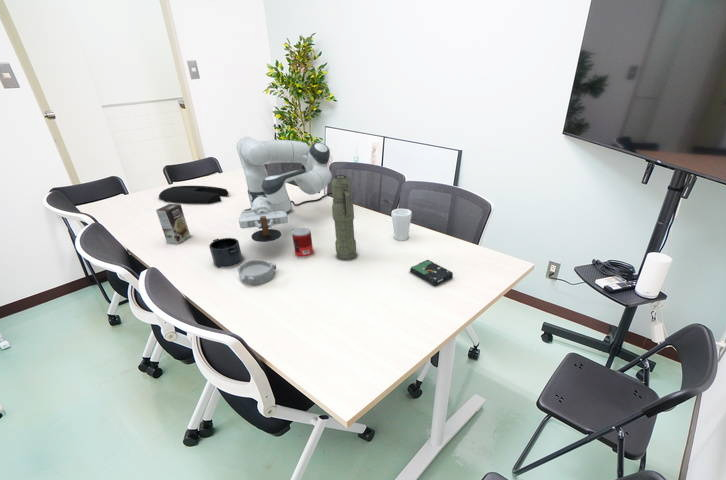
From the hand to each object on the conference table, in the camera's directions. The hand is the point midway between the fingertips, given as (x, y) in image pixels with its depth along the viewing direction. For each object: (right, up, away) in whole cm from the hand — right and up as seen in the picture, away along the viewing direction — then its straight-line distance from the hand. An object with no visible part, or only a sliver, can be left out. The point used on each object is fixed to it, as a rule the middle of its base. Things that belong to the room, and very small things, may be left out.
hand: (264, 226), depth 165 cm
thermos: (+34, -12, +8) cm, 37 cm away
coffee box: (-48, -3, +21) cm, 52 cm away
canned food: (+15, -11, +10) cm, 20 cm away
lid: (0, -3, +3) cm, 5 cm away
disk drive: (+70, -21, -5) cm, 73 cm away
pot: (-16, -15, +3) cm, 22 cm away
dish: (0, -22, -8) cm, 24 cm away
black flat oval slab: (-68, +31, +71) cm, 103 cm away
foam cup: (+58, -1, +25) cm, 63 cm away
